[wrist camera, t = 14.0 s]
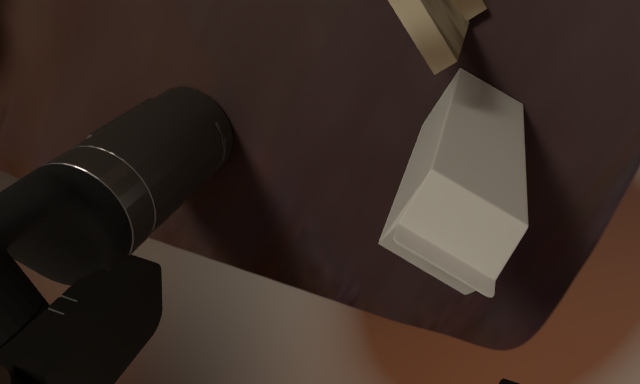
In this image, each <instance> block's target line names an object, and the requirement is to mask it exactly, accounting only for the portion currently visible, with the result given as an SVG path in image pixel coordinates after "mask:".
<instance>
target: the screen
mask: <svg viewBox="0 0 640 384" xmlns="http://www.w3.org/2000/svg"><path fill="white" fill-rule="evenodd" d="M388 1H389V3H390V4H391V6H392V8H393V9H394V11H395V12H396V14H397V16H398V17H399V19H400V20H401V22H402V24H403V25H404V27H405V28H406V30H407V32H408V33H409V35H410V36H411V38H412V40H413V41H414V43H415V44H416V46H417V48H418V49H419V51H420V52H421V54H422V56H423V57H424V59H425V60H426V62H427V64H428V65H429V67H430V68H431V70H432V72H433V73H434V75H435V74H437V73H438V72H440V71H442V70H443V69H445V68H447V67H449V66H450V65H452V64H454V63H455V62H457V61H458V57H459V54H460V51H461V48H462V45H463V41H464V38H465V35H466V32H467V29H468V25H469V21H468V20H470V19H471V18H473V17H475V16H476V15H478V14H479V13H481V12H483V11H484V10H486V9H487V5H486V3H485V1H484V0H388Z"/></svg>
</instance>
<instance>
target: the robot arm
mask: <svg viewBox="0 0 640 384" xmlns="http://www.w3.org/2000/svg"><path fill="white" fill-rule="evenodd" d="M232 147H233V134H232V129H231V126H230V123H229V121H228V119H227V117H226V115H225V113H224V112H223V110H222V109H221V108H220V107H219V106H218V105H217V103H216V102H215V101H214V100H212V99H211V98H210V97H208V96H207V95H205V94H203V93H201V92H199V91H198V90H194V89H191V88H182V87H179V88H173V89H170V90H168V91H166V92H164V93H162V94H160V95H159V96H157V97H155V98H154V99H147V100H145V101H144V102H142V103H140V104H139V105H137V106H135V107H134V108H132V109H130V110H129V111H127V112H125V113H124V114H122V115H120V116H119V117H117V118H115V119H113V120H112V121H110V122H108V123H107V124H105V125H103V126H102V127H100V128H98V129H97V130H95V131H93V132H92V133H90V134H89V135H88V137H87V139H86V140H84V141H82V142H81V143H79V144H77V145H76V146H74V147H73V148H71V149H69V150H68V151H66V152H65V153H63V154H61V155H60V156H58V157H56V158H55V159H53V160H51V161H50V162H48V163H46V164H45V165H43V166H41V167H39V168H38V169H36V170H34V171H33V172H31V173H29V174H28V175H26V176H25V177H23V178H22V179H20V180H18V181H17V182H15V183H14V184H13V185H11V186H9V187H8V188H6V189H4V190H3V191H1V192H0V384H114V383H115V382H116V381H117V380H118V378H119V377H120V375H122V373H123V372H124V371H125V370H126V368H127V367H128V366H129V364H130V363H131V362H132V361H133V359H134V358H135V357H136V356H137V354H138V353H139V352H140V350H141V349H142V348H143V347H144V346H145V344H146V343H147V342H148V341H149V339H150V338H151V337H152V335H153V334H154V332H155V331H156V329H157V327H158V325H159V322H160V319H161V315H162V277H161V267H160V265H159V264H158V263H155V262H152V261H149V260H146V259H143V258H140V257H136V256H133V255H131V254H132V253H133V252H134V251H135V250H136V249H137V248H138V247H139V246H140V245H141V244H142V243H143V242H144V241H145V240H146V239H147V238H148V237H149V236H150V235H151V234H152V233H153V232H154V231H155V230H156V229H158V228H159V227H160V226H161V225H162V224H163V223H164V222H165V221H166V220H167V219H168V218H169V217H170V216H171V215H172V214H173V213H174V212H175V211H176V210H177V209H178V208H179V207H180V206H181V205H182V204H183V203H184V202H185V201H186V200H187V199H188V198H189V197H190V196H191V195H192V194H194V193H195V192H196V191H197V190H198V189H199V188H200V187H201V186H202V185H203V184H204V183H205V182H206V181H207V180H208V179H209V178H210V177H211V176H212V175H213V174H214V173H215V172H216V171H217V170H218V169H219V168H220V167H221V166H222V165H223V164H224V163H225V162H226V161H227V160H228V158H229V156H230V154H231V151H232ZM14 260H16V261H18V262H20V263H22V264H24V265H26V266H27V267H29V268H30V269H32V270H34V271H36V272H37V273H39V274H41V275H42V276H44V277H46V278H49V279H51V280H53V281H56V282H59V283H62V284H66V285H71V287H70V288H68V289H67V290H66V291H65V292H64V293H63V294H62V296H61V298H60V297H59V298H57V299H56V300H55V301H54V302H53V303H52V304H51V305H49V304H48V302H47V301H46V300H45V299H44V297H43V296H42V295H41V293H40V292H39V291H38V290H37V288H36V287H35V286H34V285H33V283H32V282H31V281H30V280H29V278H28V277H27V276H26V275H25V273H24V272H23V271H22V270H21V268H20V267H19V266H18V264H17V263H16V262H15V261H14ZM499 384H519V383H515V382H513V381H510V380H507V379H502V380H501V381H500V383H499Z"/></svg>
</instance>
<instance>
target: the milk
mask: <svg viewBox="0 0 640 384" xmlns="http://www.w3.org/2000/svg"><path fill="white" fill-rule="evenodd" d="M527 229H528V205H527V182H526V159H525V136H524V114H523V104H522V103H520V102H518V101H517V100H515V99H513V98H511V97H510V96H508V95H506V94H505V93H503V92H501V91H499V90H498V89H496V88H494V87H493V86H491V85H489V84H487V83H486V82H484V81H482V80H481V79H479V78H477V77H475V76H474V75H472V74H470V73H469V72H467V71H465V70H463V69H462V68H460V69H459V70H458V72H457V73H456V75H455V76H454V78H453V79H452V81H451V82H450V84H449V85H448V87H447V88H446V90H445V91H444V93H443V94H442V96H441V98H440V99H439V101H438V102H437V104H436V105H435V107H434V108H433V110H432V111H431V113H430V114H429V116H428V117H427V119H426V120H425V122H424V123H423V125H422V128H421V130H420V133H419V136H418V138H417V141H416V144H415V146H414V149H413V152H412V154H411V157H410V160H409V162H408V165H407V168H406V170H405V173H404V176H403V178H402V181H401V184H400V187H399V189H398V192H397V195H396V197H395V200H394V203H393V205H392V208H391V211H390V213H389V216H388V219H387V221H386V224H385V227H384V229H383V232H382V235H381V237H380V240H379V244H380V245H381V246H383V247H385V248H386V249H388V250H390V251H391V252H393V253H395V254H396V255H398V256H400V257H402V258H403V259H405V260H407V261H408V262H410V263H412V264H413V265H415V266H417V267H418V268H420V269H422V270H424V271H425V272H427V273H429V274H430V275H432V276H434V277H435V278H437V279H439V280H440V281H442V282H444V283H446V284H447V285H449V286H451V287H452V288H454V289H456V290H457V291H459V292H461V293H462V294H464V295H467V294H469V293H472V292H474V291H478V292H480V293H481V294H483V295H485V296H486V297H489V298H492V297H493V296H494V294H495V281H496V279H497V277H498V276H499V274H500V272H501V271H502V269H503V268H504V266H505V264H506V263H507V261H508V260H509V258H510V256H511V255H512V253H513V251H514V250H515V248H516V247H517V245H518V243H519V242H520V240H521V239H522V237H523V235H524V234H525V232H526V230H527Z"/></svg>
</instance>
